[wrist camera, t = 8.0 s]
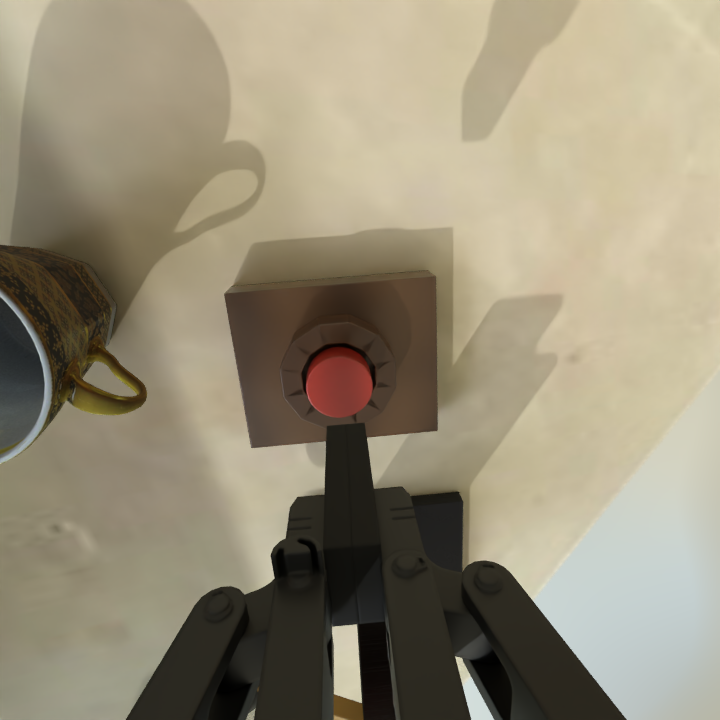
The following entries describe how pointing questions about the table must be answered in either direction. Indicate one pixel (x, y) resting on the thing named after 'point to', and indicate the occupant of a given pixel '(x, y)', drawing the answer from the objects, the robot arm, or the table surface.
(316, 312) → the button block
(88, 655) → the table surface
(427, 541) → the switch bracket
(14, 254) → the ceramic cup
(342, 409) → the button
